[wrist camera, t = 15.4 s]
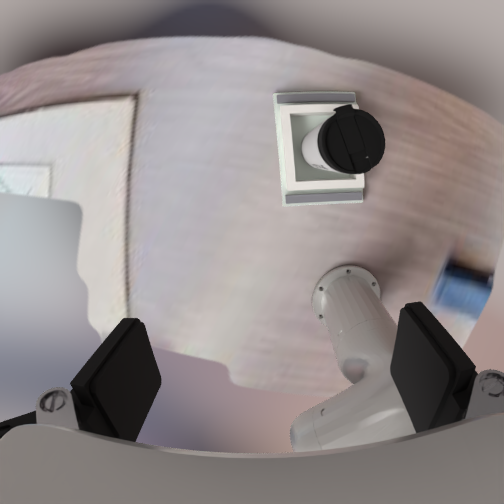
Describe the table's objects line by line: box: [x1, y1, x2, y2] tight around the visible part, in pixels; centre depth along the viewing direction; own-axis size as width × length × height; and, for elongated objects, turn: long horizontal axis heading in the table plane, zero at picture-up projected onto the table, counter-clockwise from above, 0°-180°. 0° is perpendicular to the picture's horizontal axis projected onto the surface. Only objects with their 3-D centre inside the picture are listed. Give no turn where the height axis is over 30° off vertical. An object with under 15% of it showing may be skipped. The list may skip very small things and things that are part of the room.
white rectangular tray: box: [273, 91, 364, 207], centre depth 41 cm, size 18×13×4 cm
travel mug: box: [301, 104, 385, 174], centre depth 33 cm, size 6×7×20 cm
